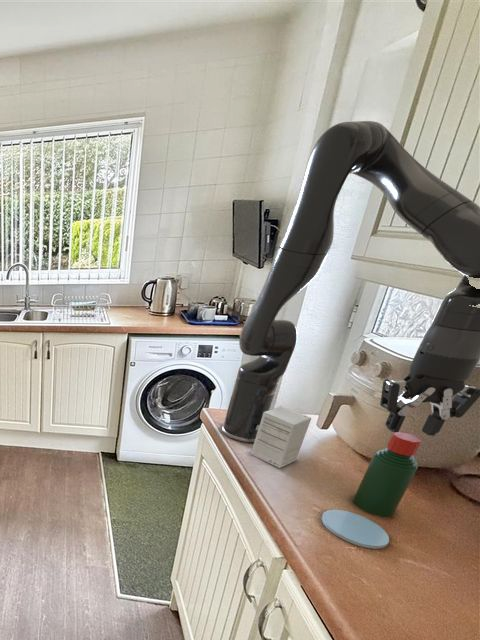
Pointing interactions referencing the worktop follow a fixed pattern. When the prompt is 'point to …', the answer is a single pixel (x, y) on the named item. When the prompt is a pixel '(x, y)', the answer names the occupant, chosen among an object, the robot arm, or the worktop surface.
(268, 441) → the white packaging box
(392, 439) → the cap
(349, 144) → the robot arm
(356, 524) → the saucer
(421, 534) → the worktop surface
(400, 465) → the sauce bottle
